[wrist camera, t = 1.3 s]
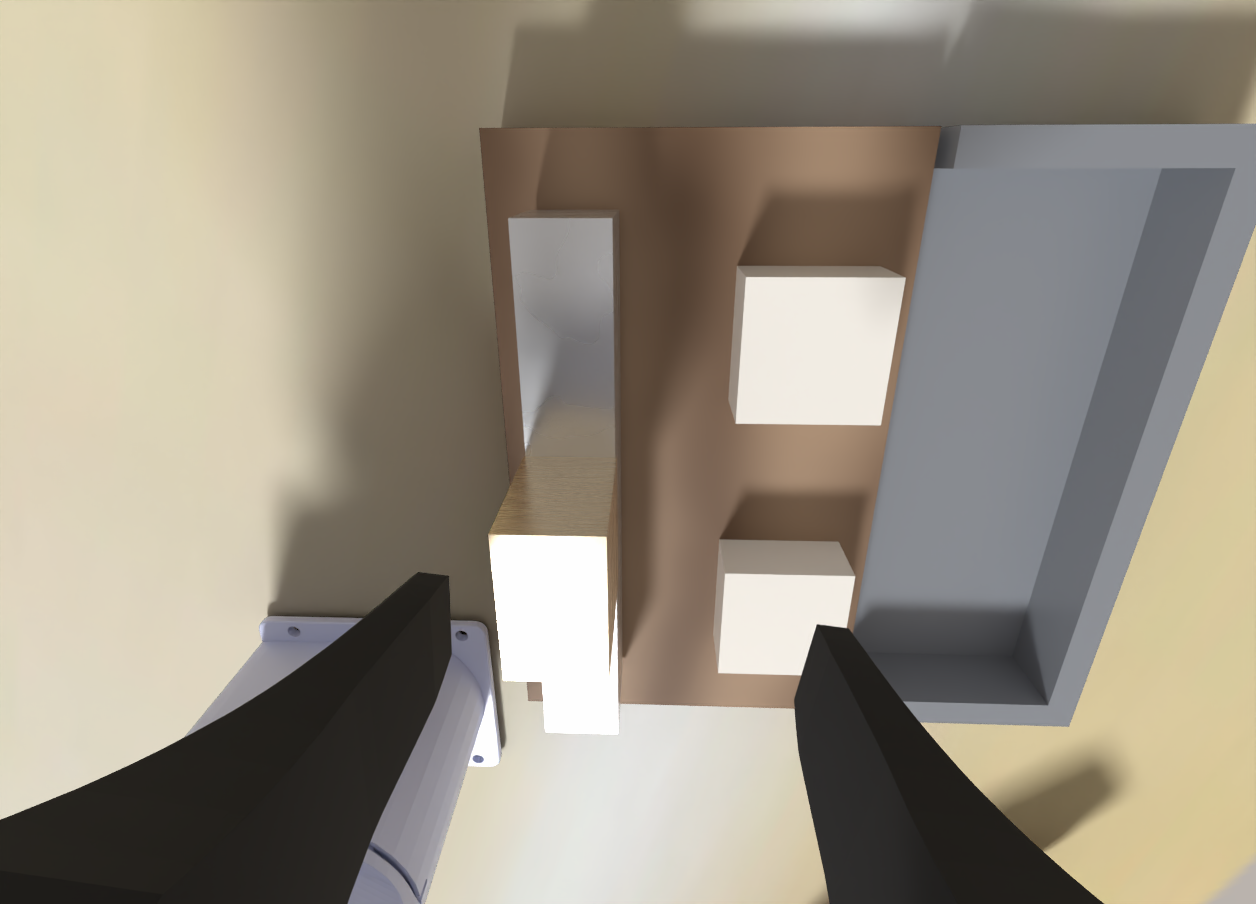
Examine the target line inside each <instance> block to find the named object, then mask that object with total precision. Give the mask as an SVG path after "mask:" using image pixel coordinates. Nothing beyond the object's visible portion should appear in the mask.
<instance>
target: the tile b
mask: <svg viewBox="0 0 1256 904" xmlns="http://www.w3.org/2000/svg"><path fill="white" fill-rule="evenodd" d="M905 280H906V278H905V277H903V276H901V275H899V274H897V273H894V272H892V271H890V270H888V269H886V268H883V267H881V266H737V273H736V288H735V304H734V319H733V335H732V350H731V366H730V381H729V397H728V400H729V404H730V407H731V410H732V413H733V417H734V420H735V423H736V424H801V425H881V422H882V416H883V410H884V404H885V398H886V392H887V386H888V380H889V374H890V368H891V362H892V356H893V351H894V345H895V339H896V333H897V327H898V321H899V315H900V309H901V303H902V297H903V291H904V285H905Z"/></svg>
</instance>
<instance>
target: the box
mask: <svg viewBox="0 0 1256 904" xmlns="http://www.w3.org/2000/svg"><path fill="white" fill-rule="evenodd" d="M1255 225H1256V124H1093V125H958V126H950V127H943V128H941V131H940V137H939V143H938V148H937V154H936V160H935V165H934V171H933V177H932V183H931V188H930V194H929V200H928V206H927V211H926V217H925V223H924V228H923V234H922V240H921V246H920V251H919V257H918V263H917V269H916V274H915V280H914V286H913V291H912V297H911V303H910V309H909V314H908V320H907V326H906V332H905V337H904V343H903V349H902V354H901V360H900V366H899V372H898V377H897V383H896V389H895V395H894V400H893V406H892V412H891V417H890V423H889V429H888V435H887V440H886V446H885V452H884V458H883V463H882V469H881V475H880V480H879V486H878V492H877V498H876V503H875V509H874V515H873V521H872V526H871V532H870V538H869V543H868V549H867V555H866V561H865V566H864V572H863V578H862V584H861V589H860V595H859V601H858V606H857V612H856V618H855V624H854V629H853V635H854V636H855V638H856V639H857V640H858V642H859V643H860V644H861V646H862V647H863V648H864V650H865V651H866V652H867V654H868V655H869V657H870V658H871V659H872V661H873V662H874V663H875V665H876V666H877V667H878V669H879V670H880V671H881V673H882V674H883V676H884V677H885V678H886V680H887V681H888V682H889V684H890V685H891V686H892V688H893V689H894V690H895V692H896V693H897V694H898V695H899V697H900V698H901V699H902V701H903V702H904V703H905V704H906V706H907V707H908V708H909V709H910V711H911V712H912V713H913V715H914V716H915V717H916V718H917V720H918V721H919V722H928V723H963V724H997V725H1032V726H1066V727H1069V725H1070V722H1071V719H1072V717H1073V714H1074V711H1075V709H1076V706H1077V703H1078V701H1079V698H1080V695H1081V693H1082V690H1083V687H1084V685H1085V682H1086V679H1087V676H1088V674H1089V671H1090V668H1091V666H1092V663H1093V660H1094V658H1095V655H1096V652H1097V650H1098V647H1099V644H1100V642H1101V639H1102V636H1103V633H1104V631H1105V628H1106V625H1107V623H1108V620H1109V617H1110V615H1111V612H1112V609H1113V607H1114V604H1115V601H1116V599H1117V596H1118V593H1119V591H1120V588H1121V585H1122V582H1123V580H1124V577H1125V574H1126V572H1127V569H1128V566H1129V564H1130V561H1131V558H1132V556H1133V553H1134V550H1135V548H1136V545H1137V542H1138V539H1139V537H1140V534H1141V531H1142V529H1143V526H1144V523H1145V521H1146V518H1147V515H1148V513H1149V510H1150V507H1151V505H1152V502H1153V499H1154V497H1155V494H1156V491H1157V488H1158V486H1159V483H1160V480H1161V478H1162V475H1163V472H1164V470H1165V467H1166V464H1167V462H1168V459H1169V456H1170V454H1171V451H1172V448H1173V445H1174V443H1175V440H1176V437H1177V435H1178V432H1179V429H1180V427H1181V424H1182V421H1183V419H1184V416H1185V413H1186V411H1187V408H1188V405H1189V403H1190V400H1191V397H1192V394H1193V392H1194V389H1195V386H1196V384H1197V381H1198V378H1199V376H1200V373H1201V370H1202V368H1203V365H1204V362H1205V360H1206V357H1207V354H1208V351H1209V349H1210V346H1211V343H1212V341H1213V338H1214V335H1215V333H1216V330H1217V327H1218V325H1219V322H1220V319H1221V317H1222V314H1223V311H1224V308H1225V306H1226V303H1227V300H1228V298H1229V295H1230V292H1231V290H1232V287H1233V284H1234V282H1235V279H1236V276H1237V274H1238V271H1239V268H1240V266H1241V263H1242V260H1243V257H1244V255H1245V252H1246V249H1247V247H1248V244H1249V241H1250V239H1251V236H1252V233H1253V231H1254V228H1255Z"/></svg>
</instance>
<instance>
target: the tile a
mask: <svg viewBox="0 0 1256 904" xmlns="http://www.w3.org/2000/svg"><path fill="white" fill-rule="evenodd" d="M854 581H855V574H854V572H853V570H852V568H851V566H850V564H849V562H848V560H847V558H846V556H845V554H844V552H843V550H842V548H841V546H840V543H839V542H831V541H778V540H725V539H719V552H718V567H717V583H716V598H715V614H714V629H713V636H714V644H715V652H716V661H717V669H718V673H731V674H768V675H802V671H803V668H804V665H805V661H806V658H807V655H808V652H809V648H810V645H811V642H812V638H813V635H814V632H815V628H816V625H817V624H820V625H827V626H835V627H843V628H847V623H848V617H849V611H850V605H851V599H852V593H853V587H854Z"/></svg>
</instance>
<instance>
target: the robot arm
mask: <svg viewBox="0 0 1256 904" xmlns="http://www.w3.org/2000/svg"><path fill="white" fill-rule="evenodd" d="M294 627H296V628H298V629H299V630H296V629H295V628H294ZM259 631H260V635H261V638H262V643H261V645H260V646H259V647H258V648H257V649H256V651H255V652H254V653H253V654H252V655H251V657H250V658H249V659H248V660H247V662H246V663H245V664H244V665H243V666H242V668H241V669H240V670H239V671H238V673H237V674H236V675H235V676H234V677H233V679H232V680H231V681H230V682H229V683H228V685H227V686H226V687H225V688H224V690H223V691H222V692H221V693H220V694H219V696H218V697H217V698H216V699H215V700H214V702H213V703H212V704H211V705H210V707H209V708H208V709H207V710H206V711H205V713H204V714H203V715H202V716H201V718H200V719H199V720H198V721H197V722H196V724H195V725H194V726H193V727H192V728H191V730H190V731H189V732H188V733H187V735H186V736H185V737H184V738H182V739H181V740H179V741H177V742H175V743H173V744H171V745H169V746H168V747H166V748H164V749H162V750H160V751H158V752H156V753H153V754H151V755H149V756H147V757H145V758H143V759H141V760H139V761H137V762H135V763H133V764H131V765H129V766H127V767H124V768H122V769H120V770H118V771H116V772H114V773H111V774H109V775H107V776H105V777H103V778H101V779H98V780H96V781H94V782H92V783H89V784H87V785H85V786H82V787H80V788H78V789H76V790H73V791H71V792H68V793H66V794H63V795H61V796H58V797H56V798H53V799H51V800H49V801H46V802H44V803H41V804H39V805H36V806H34V807H31V808H29V809H26V810H24V811H21V812H19V813H17V814H14V815H12V816H9V817H7V818H4V819H1V820H0V904H425V902H426V899H427V895H428V892H429V889H430V886H431V883H432V879H433V876H434V873H435V870H436V867H437V863H438V860H439V857H440V854H441V851H442V847H443V844H444V841H445V838H446V835H447V831H448V828H449V825H450V822H451V819H452V815H453V812H454V809H455V806H456V803H457V799H458V796H459V793H460V790H461V787H462V783H463V780H464V777H465V774H466V771H467V767H468V766H495V765H497V764H498V763H499V762H500V759H501V754H502V752H501V743H500V734H499V725H498V716H497V707H496V699H495V690H494V681H493V672H492V663H491V654H490V645H489V637H488V630H487V627H486V626H485V625H484V624H483V623H481V622H478V621H460V620H451V617H450V592H449V576H444V575H436V574H429V573H421V572H418V573H417V574H415V575H414V576H413V577H411V578H410V579H409V580H408V581H407V582H405V583H404V584H403V585H402V586H401V587H400V588H398V589H397V590H396V591H395V592H394V593H392V594H391V595H390V596H389V597H388V598H387V599H385V600H384V601H383V602H382V603H381V604H380V605H378V606H377V607H376V608H375V609H374V610H372V611H371V612H370V613H369V614H368V615H366V616H365V617H364V618H335V617H293V616H269V617H266V618H265V619H264V620H263V621H262V622H261V623H260V625H259ZM459 631H464V632H466V633H467V634H466V635H464V634H461V633H460V632H459ZM794 707H795V719H796V731H797V741H798V751H799V756H800V761H801V766H802V771H803V776H804V781H805V785H806V790H807V795H808V799H809V804H810V809H811V813H812V818H813V823H814V827H815V832H816V836H817V841H818V846H819V850H820V855H821V860H822V864H823V869H824V874H825V879H826V885H827V891H828V896H829V903H830V904H1104V903H1102V902H1101V901H1100V900H1099V899H1097V898H1096V897H1095V896H1094V895H1093V894H1091V893H1090V892H1089V891H1088V890H1087V889H1085V888H1084V887H1083V886H1082V885H1081V884H1080V883H1078V882H1077V881H1076V880H1075V879H1074V878H1072V877H1071V876H1070V875H1069V874H1068V873H1067V872H1065V871H1064V870H1063V869H1062V868H1061V867H1060V866H1059V865H1058V864H1057V863H1055V862H1054V861H1053V860H1052V859H1051V858H1050V857H1049V856H1048V855H1046V854H1045V853H1044V852H1043V851H1042V850H1041V849H1040V848H1039V847H1038V846H1036V845H1035V844H1034V843H1033V842H1032V841H1031V840H1030V839H1029V838H1028V837H1027V836H1025V835H1024V834H1023V833H1022V832H1021V831H1020V830H1019V829H1018V828H1017V827H1016V826H1015V825H1014V824H1013V823H1012V822H1011V821H1010V820H1009V819H1008V818H1007V817H1006V816H1005V815H1004V814H1003V813H1002V812H1001V811H1000V810H999V809H998V808H997V807H996V806H995V805H994V804H993V803H992V802H991V801H990V800H989V799H988V798H987V797H986V796H985V795H984V794H983V793H982V792H981V791H980V790H979V789H978V788H977V787H976V786H975V785H974V784H973V783H972V782H971V781H970V780H969V779H968V777H967V776H966V775H965V774H964V773H963V772H962V771H961V770H960V769H959V768H958V767H957V765H956V764H955V763H954V762H953V761H952V760H951V759H950V757H949V756H948V755H947V754H946V753H945V752H944V751H943V749H942V748H941V747H940V746H939V745H938V744H937V743H936V741H935V740H934V739H933V738H932V737H931V736H930V734H929V733H928V732H927V731H926V730H925V728H924V727H923V726H922V725H921V723H920V722H919V721H918V720H917V718H916V717H915V716H914V715H913V713H912V712H911V711H910V709H909V708H908V707H907V706H906V704H905V703H904V702H903V701H902V699H901V698H900V697H899V695H898V694H897V693H896V692H895V690H894V689H893V688H892V686H891V685H890V684H889V682H888V681H887V680H886V678H885V677H884V676H883V674H882V673H881V671H880V670H879V669H878V667H877V666H876V665H875V663H874V662H873V661H872V659H871V658H870V657H869V655H868V654H867V652H866V651H865V650H864V648H863V647H862V646H861V644H860V643H859V642H858V640H857V639H856V638H855V636H854V635H853V633H852V632H851V631H850V629H849V628H843V627H835V626H827V625H820V624H817V625H816V628H815V632H814V635H813V638H812V642H811V645H810V648H809V652H808V655H807V658H806V661H805V665H804V668H803V671H802V675H801V678H800V681H799V685H798V688H797V691H796V694H795V698H794ZM479 755H481V756H479Z"/></svg>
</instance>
